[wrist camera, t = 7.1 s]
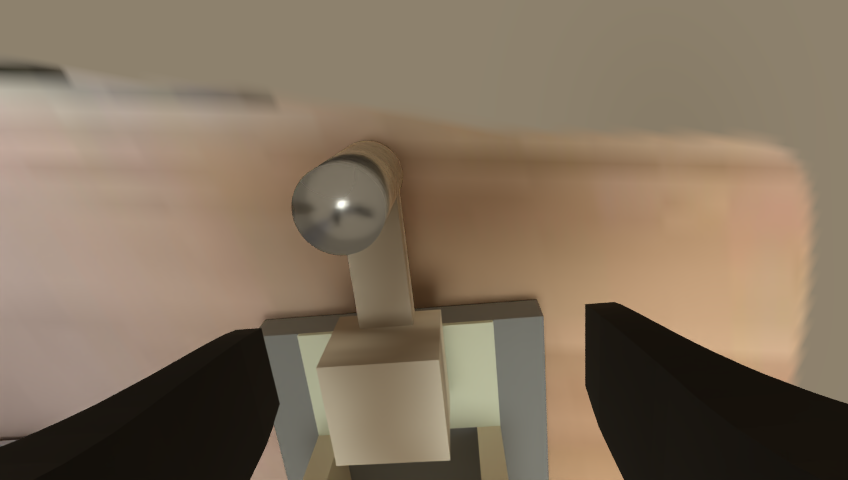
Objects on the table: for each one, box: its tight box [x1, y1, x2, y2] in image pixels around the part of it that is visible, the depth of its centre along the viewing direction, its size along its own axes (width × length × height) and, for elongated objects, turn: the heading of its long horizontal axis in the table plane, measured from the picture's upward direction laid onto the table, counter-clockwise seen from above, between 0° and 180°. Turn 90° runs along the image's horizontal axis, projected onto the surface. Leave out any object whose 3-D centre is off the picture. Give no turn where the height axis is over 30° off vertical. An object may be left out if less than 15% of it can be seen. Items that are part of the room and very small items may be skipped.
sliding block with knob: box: [292, 141, 450, 466], centre depth 16 cm, size 4×11×5 cm, turn 6°
